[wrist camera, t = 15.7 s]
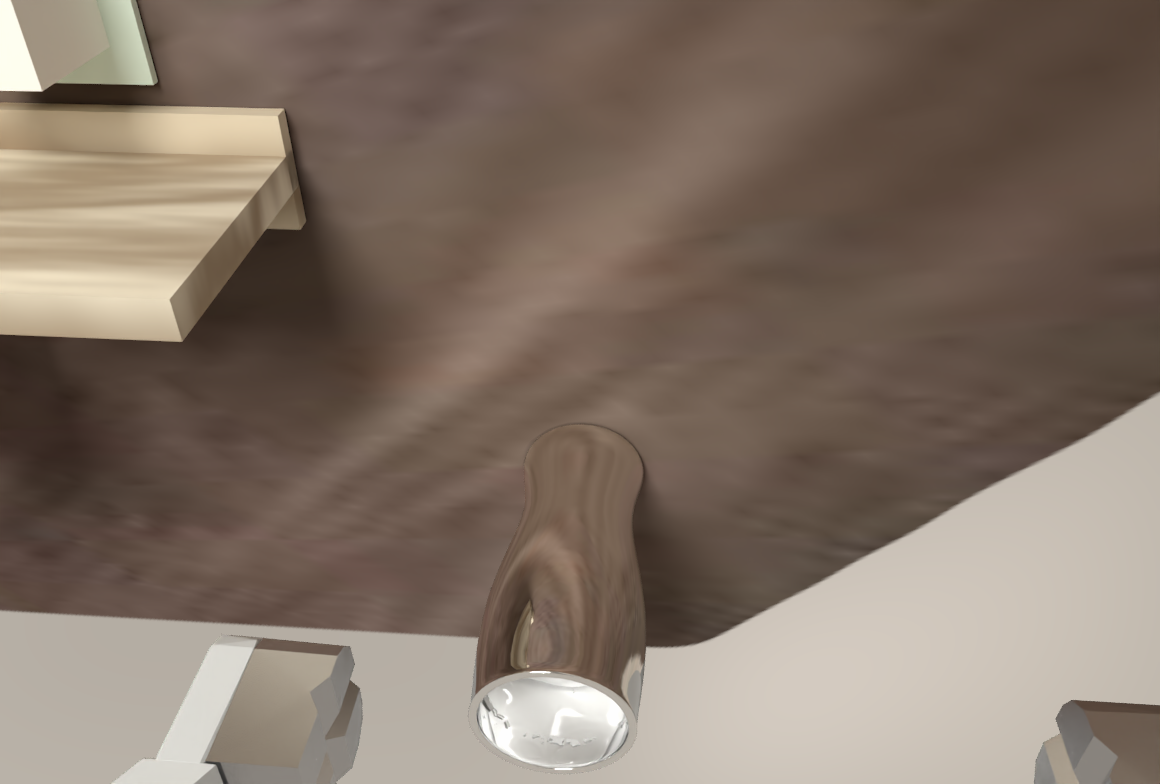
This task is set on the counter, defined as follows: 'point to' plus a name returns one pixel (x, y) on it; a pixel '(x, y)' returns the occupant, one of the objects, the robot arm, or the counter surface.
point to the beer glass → (566, 612)
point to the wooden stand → (133, 213)
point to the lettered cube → (47, 41)
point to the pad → (119, 50)
